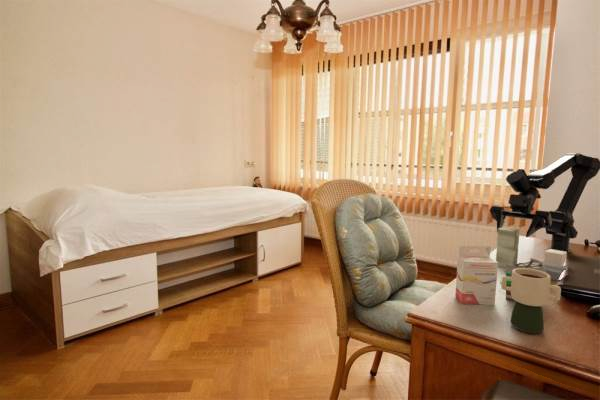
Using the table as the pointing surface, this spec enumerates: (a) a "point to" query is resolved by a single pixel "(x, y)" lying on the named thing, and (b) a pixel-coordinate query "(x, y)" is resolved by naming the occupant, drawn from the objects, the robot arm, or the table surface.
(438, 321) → the table surface
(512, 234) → the sage block
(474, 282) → the ink cartridge box
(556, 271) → the slate slab
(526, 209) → the robot arm
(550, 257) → the ivory cube
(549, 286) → the character mug
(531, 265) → the food container
